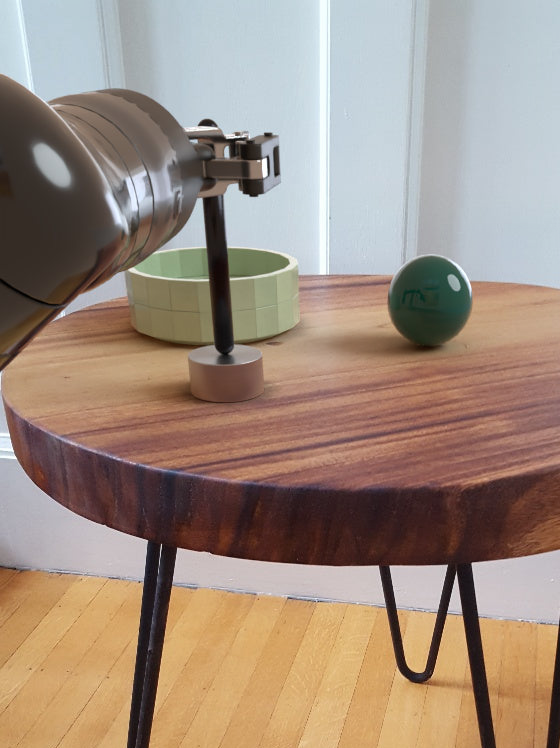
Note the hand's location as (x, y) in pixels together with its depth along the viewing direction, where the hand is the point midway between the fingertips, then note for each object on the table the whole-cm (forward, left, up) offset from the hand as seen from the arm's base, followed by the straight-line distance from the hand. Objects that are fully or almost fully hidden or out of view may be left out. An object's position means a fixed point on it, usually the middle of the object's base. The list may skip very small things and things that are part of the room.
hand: (176, 150), depth 60 cm
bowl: (+1, +32, -19) cm, 37 cm away
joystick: (+2, +11, -19) cm, 22 cm away
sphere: (+21, +23, -19) cm, 36 cm away
